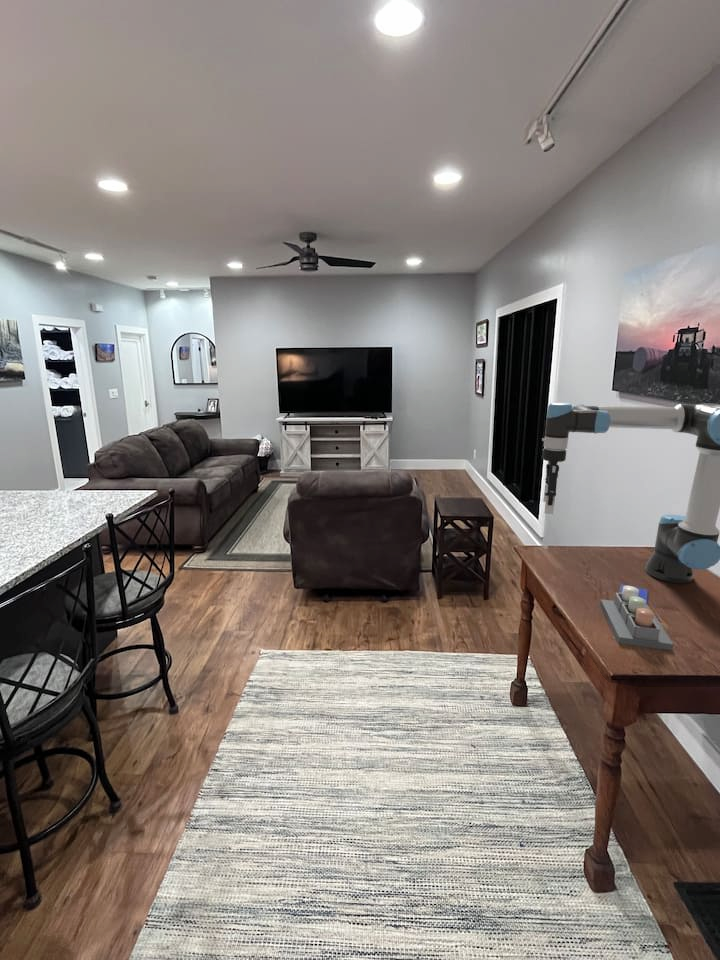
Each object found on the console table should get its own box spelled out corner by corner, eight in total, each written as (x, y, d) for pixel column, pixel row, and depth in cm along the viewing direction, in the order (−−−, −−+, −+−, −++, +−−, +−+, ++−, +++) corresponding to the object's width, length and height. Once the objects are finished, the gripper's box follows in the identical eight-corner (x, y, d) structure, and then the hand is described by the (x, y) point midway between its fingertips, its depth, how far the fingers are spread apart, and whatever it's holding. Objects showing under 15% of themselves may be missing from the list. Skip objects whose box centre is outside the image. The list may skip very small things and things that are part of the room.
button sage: (641, 609, 147) (643, 597, 146) (646, 616, 142) (648, 604, 141) (625, 607, 148) (627, 595, 146) (630, 614, 143) (632, 602, 142)
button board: (646, 610, 155) (649, 595, 154) (672, 650, 134) (676, 633, 133) (599, 604, 158) (602, 589, 157) (618, 643, 138) (621, 626, 136)
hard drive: (621, 583, 170) (619, 599, 160) (647, 589, 166) (647, 605, 156) (620, 587, 171) (618, 603, 160) (647, 593, 167) (646, 609, 156)
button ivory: (634, 597, 153) (636, 586, 152) (638, 604, 149) (640, 593, 148) (619, 596, 154) (621, 585, 153) (623, 603, 150) (625, 591, 149)
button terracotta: (649, 621, 140) (651, 609, 139) (654, 629, 136) (656, 617, 135) (632, 619, 141) (634, 607, 140) (637, 627, 137) (639, 615, 136)
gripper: (542, 441, 176) (536, 496, 181) (544, 455, 153) (537, 517, 159) (564, 442, 173) (557, 498, 179) (569, 457, 151) (561, 520, 156)
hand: (547, 507), depth 169 cm, fingers open, 13 cm apart
